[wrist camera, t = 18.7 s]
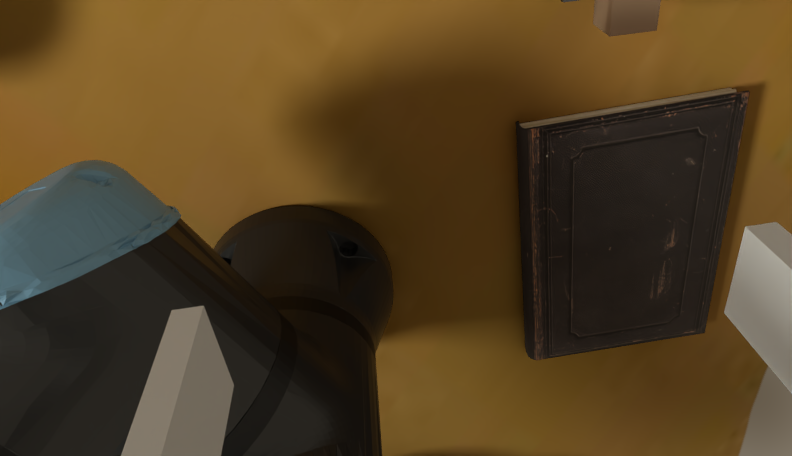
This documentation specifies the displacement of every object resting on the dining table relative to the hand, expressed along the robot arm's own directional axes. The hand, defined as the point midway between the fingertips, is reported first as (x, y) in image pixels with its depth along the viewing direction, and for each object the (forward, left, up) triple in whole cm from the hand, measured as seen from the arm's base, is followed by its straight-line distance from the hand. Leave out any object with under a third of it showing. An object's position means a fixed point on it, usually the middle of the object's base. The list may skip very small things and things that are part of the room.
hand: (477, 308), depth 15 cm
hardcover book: (-19, -16, -29) cm, 39 cm away
